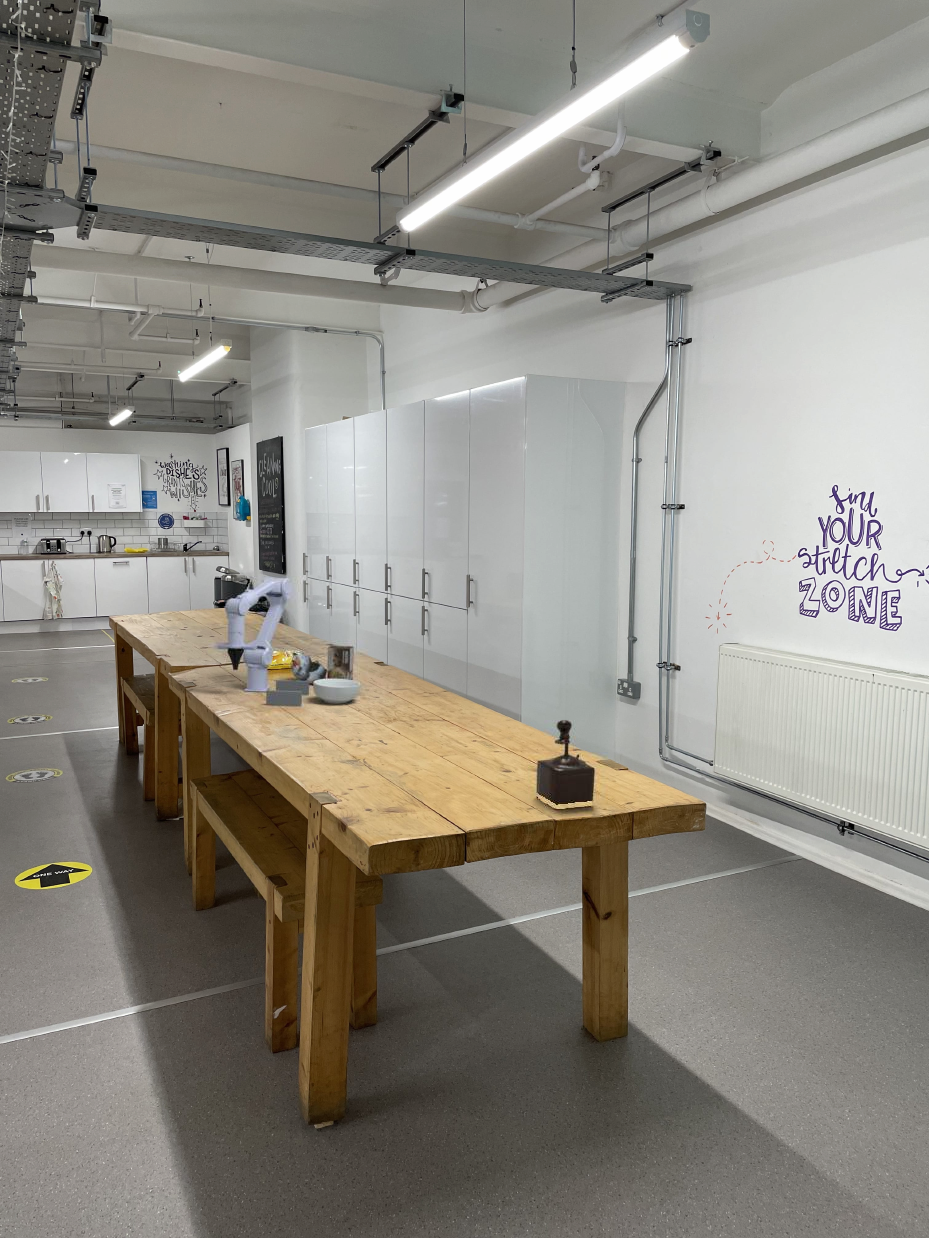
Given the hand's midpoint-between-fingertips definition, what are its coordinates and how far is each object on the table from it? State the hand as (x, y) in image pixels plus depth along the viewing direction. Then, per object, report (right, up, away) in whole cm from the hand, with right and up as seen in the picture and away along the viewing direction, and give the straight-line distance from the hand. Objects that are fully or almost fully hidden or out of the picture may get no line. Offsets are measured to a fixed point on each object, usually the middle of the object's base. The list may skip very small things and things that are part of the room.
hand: (235, 669), depth 317 cm
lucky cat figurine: (+21, -7, +32) cm, 39 cm away
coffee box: (+34, -9, +24) cm, 43 cm away
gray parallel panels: (+19, -11, -2) cm, 22 cm away
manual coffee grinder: (+106, -26, -104) cm, 150 cm away
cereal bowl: (+37, -12, -2) cm, 38 cm away
